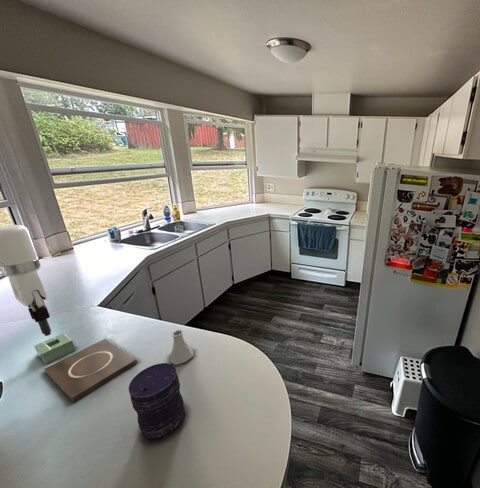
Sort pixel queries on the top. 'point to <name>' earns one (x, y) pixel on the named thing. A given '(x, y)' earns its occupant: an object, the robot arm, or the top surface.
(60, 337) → the pen stand
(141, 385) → the storage jar
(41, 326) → the marker
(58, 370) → the board
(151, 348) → the top surface
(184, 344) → the flask
